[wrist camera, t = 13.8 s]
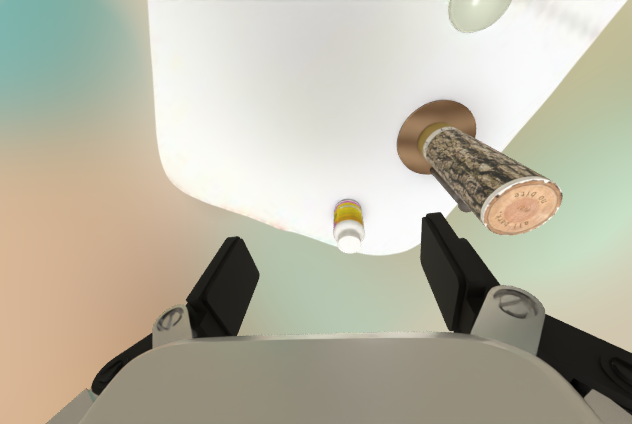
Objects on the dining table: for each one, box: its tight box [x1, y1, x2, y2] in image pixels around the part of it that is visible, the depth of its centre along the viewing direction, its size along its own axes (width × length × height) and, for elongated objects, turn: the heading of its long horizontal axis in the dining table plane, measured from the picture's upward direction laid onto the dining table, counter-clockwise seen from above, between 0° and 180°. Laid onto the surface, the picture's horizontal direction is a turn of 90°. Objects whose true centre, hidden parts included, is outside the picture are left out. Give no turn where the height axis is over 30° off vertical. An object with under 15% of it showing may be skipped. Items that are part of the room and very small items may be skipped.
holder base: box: [397, 100, 476, 212], centre depth 38 cm, size 14×14×17 cm
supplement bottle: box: [333, 200, 365, 253], centre depth 50 cm, size 7×7×13 cm
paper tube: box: [418, 123, 562, 235], centre depth 33 cm, size 7×7×25 cm
